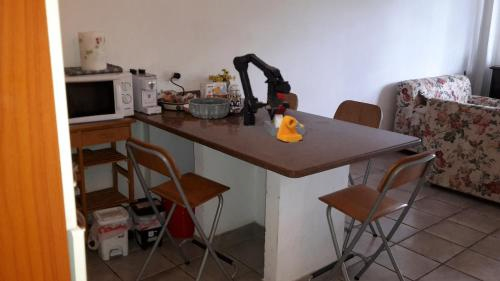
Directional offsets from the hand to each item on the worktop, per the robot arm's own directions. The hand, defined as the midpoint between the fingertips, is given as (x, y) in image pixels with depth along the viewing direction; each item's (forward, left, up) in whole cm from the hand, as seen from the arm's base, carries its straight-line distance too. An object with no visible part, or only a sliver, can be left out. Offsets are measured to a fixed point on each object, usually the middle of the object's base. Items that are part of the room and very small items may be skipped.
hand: (271, 120), depth 251 cm
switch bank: (+6, -5, -5) cm, 9 cm away
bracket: (+4, -24, -5) cm, 25 cm away
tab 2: (+2, -10, -3) cm, 11 cm away
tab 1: (+4, 0, -3) cm, 5 cm away
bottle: (+13, +39, -5) cm, 41 cm away
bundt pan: (-30, +38, -5) cm, 49 cm away
